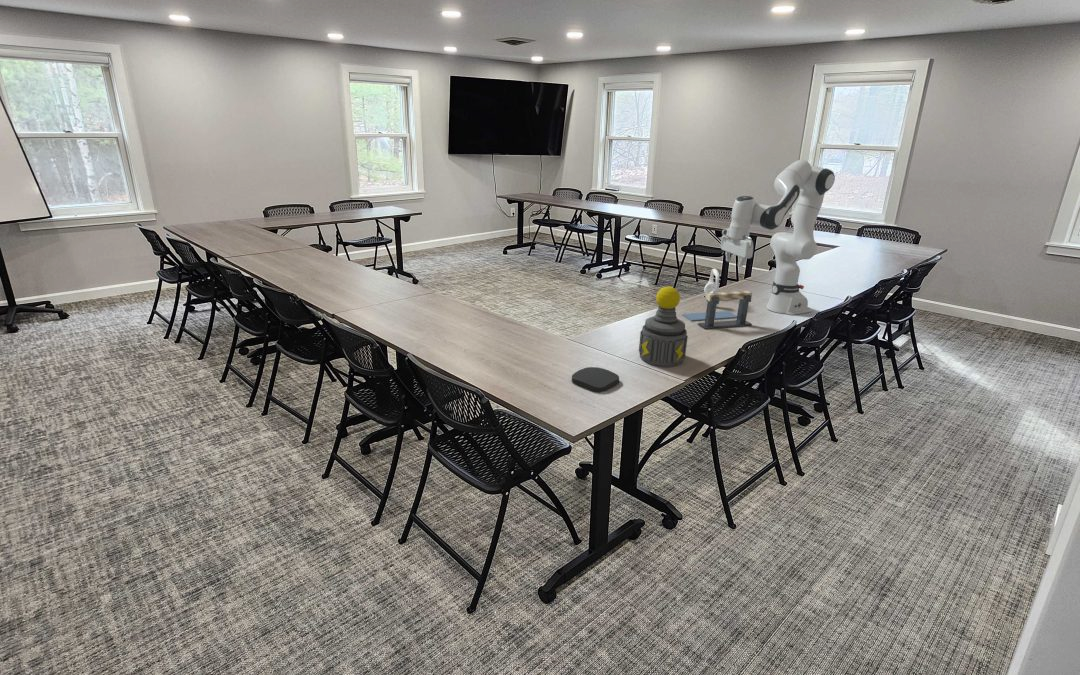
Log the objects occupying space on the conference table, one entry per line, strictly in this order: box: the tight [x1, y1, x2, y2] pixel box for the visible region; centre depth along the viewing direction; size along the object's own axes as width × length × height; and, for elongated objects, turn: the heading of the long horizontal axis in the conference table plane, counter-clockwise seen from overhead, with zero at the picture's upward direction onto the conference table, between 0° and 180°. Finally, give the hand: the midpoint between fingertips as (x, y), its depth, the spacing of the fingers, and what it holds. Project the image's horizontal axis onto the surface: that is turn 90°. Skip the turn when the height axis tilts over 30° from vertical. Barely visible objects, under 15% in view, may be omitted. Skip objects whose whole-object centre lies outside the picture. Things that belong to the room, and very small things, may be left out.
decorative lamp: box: [638, 286, 689, 368], centre depth 223 cm, size 19×19×30 cm
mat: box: [681, 310, 737, 322], centre depth 279 cm, size 26×9×1 cm, turn 105°
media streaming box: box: [571, 366, 620, 393], centre depth 206 cm, size 15×15×3 cm
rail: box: [705, 290, 753, 302], centre depth 262 cm, size 22×3×3 cm, turn 105°
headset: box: [701, 268, 721, 303], centre depth 298 cm, size 20×7×18 cm, turn 172°
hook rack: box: [697, 295, 753, 330], centre depth 265 cm, size 25×6×15 cm, turn 105°
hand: (734, 263), depth 257 cm, fingers open, 8 cm apart
